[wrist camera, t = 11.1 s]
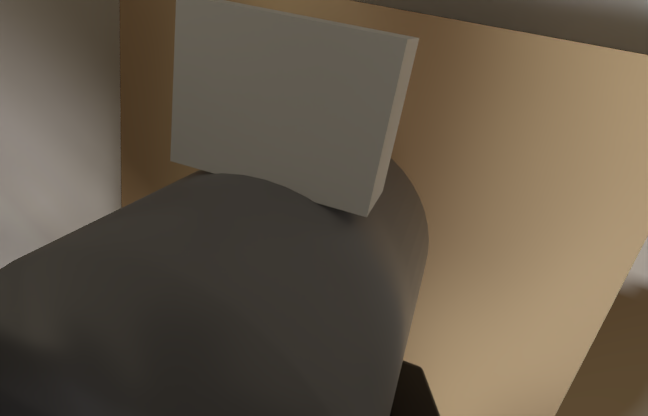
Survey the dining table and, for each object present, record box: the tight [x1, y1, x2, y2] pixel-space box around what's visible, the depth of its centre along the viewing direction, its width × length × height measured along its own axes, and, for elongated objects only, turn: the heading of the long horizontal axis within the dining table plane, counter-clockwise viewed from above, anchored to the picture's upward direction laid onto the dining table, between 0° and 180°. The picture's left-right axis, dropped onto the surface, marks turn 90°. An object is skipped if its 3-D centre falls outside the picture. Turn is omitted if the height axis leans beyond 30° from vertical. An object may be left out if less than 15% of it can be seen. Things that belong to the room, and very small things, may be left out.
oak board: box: [120, 0, 648, 416], centre depth 11 cm, size 11×11×1 cm
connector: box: [0, 0, 429, 416], centre depth 7 cm, size 4×9×5 cm, turn 169°
